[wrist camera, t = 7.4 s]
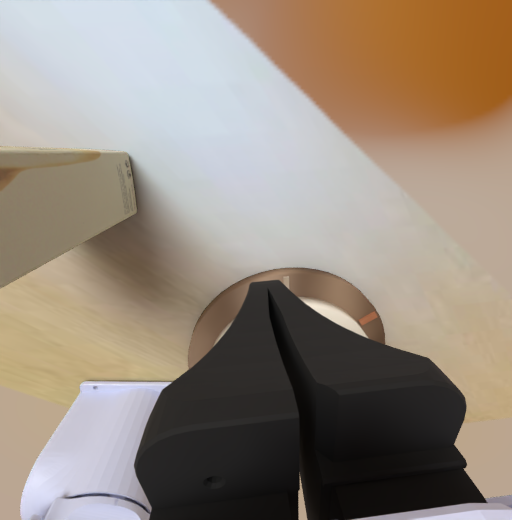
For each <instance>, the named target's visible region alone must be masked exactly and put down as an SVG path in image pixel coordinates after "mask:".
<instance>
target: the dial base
mask: <svg viewBox="0 0 512 520" xmlns="http://www.w3.org/2000/svg"><path fill="white" fill-rule="evenodd" d="M269 280H280V281H281V282H282V283H283V284H284V285H285V286H286V287H287V288H288V289H289V290H290V291H292V292H293V293H294V294H295V295H296V296H297V297H308V298H315V299H320V300H324V301H327V302H329V303H332V304H334V305H336V306H338V307H340V308H342V309H343V310H345V311H346V312H347V313H349V314H350V315H351V316H352V317H353V318H354V319H355V320H356V322H357V323H358V324H359V326H360V327H361V329H362V330H363V331H364V333H365V334H366V336H367V337H368V338H369V339H371V340H374V341H377V342H379V343H382V344H385V333H384V328H383V324H382V321H381V319H380V316H379V314H378V313H377V311H376V309H375V308H374V306H373V305H372V304H371V303H370V302H369V300H368V299H367V298H366V297H365V296H364V295H363V294H362V293H361V291H360V290H358V289H357V288H356V287H355V286H353V285H352V284H351V283H349V282H347V281H346V280H344V279H342V278H341V277H338V276H336V275H333V274H331V273H328V272H324V271H320V270H316V269H309V268H281V269H273V270H269V271H265V272H261V273H258V274H255V275H252V276H250V277H247V278H245V279H243V280H241V281H239V282H237V283H235V284H233V285H232V286H230V287H229V288H227V289H226V290H224V291H223V292H222V293H220V294H219V295H218V296H217V297H216V298H215V299H214V300H213V301H212V302H211V303H210V304H209V305H208V306H207V307H206V309H205V310H204V311H203V313H202V314H201V316H200V318H199V319H198V321H197V323H196V326H195V328H194V331H193V334H192V338H191V342H190V346H189V353H188V365H189V369H190V368H192V367H193V366H194V365H195V364H196V363H197V362H198V361H200V360H201V359H202V358H203V357H204V356H205V355H206V354H207V353H208V352H209V351H210V350H211V349H212V348H213V346H214V343H215V341H216V339H217V338H218V336H219V335H220V333H221V332H222V330H223V329H224V328H225V327H226V326H227V325H228V324H229V323H230V322H231V321H232V320H233V319H235V317H236V316H237V314H238V312H239V310H240V309H241V307H242V304H243V302H244V300H245V298H246V295H247V293H248V289H249V284H250V283H251V282H259V281H269Z"/></svg>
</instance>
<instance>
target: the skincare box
mask: <svg viewBox="0 0 512 520" xmlns="http://www.w3.org/2000/svg"><path fill="white" fill-rule="evenodd" d="M136 213H137V206H136V198H135V191H134V184H133V178H132V172H131V167H130V162H129V157H128V153H127V152H124V151H111V150H97V149H75V148H39V147H10V146H0V288H2V287H4V286H6V285H8V284H9V283H11V282H13V281H15V280H17V279H19V278H20V277H22V276H24V275H26V274H27V273H29V272H31V271H33V270H35V269H37V268H39V267H40V266H42V265H44V264H45V263H47V262H49V261H51V260H53V259H55V258H57V257H58V256H60V255H62V254H64V253H65V252H67V251H69V250H71V249H73V248H74V247H76V246H78V245H80V244H81V243H83V242H85V241H87V240H89V239H91V238H92V237H94V236H96V235H98V234H100V233H101V232H103V231H105V230H107V229H109V228H110V227H112V226H114V225H116V224H118V223H119V222H121V221H123V220H125V219H127V218H129V217H130V216H132V215H134V214H136Z"/></svg>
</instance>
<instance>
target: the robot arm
mask: <svg viewBox="0 0 512 520" xmlns="http://www.w3.org/2000/svg"><path fill="white" fill-rule="evenodd" d="M80 391H81V392H80V394H79V395H78V397H77V398H76V400H75V401H74V403H73V405H72V406H71V408H70V409H69V411H68V412H67V414H66V415H65V417H64V418H63V420H62V421H61V423H60V424H59V426H58V427H57V429H56V430H55V432H54V433H53V435H52V436H51V438H50V440H49V441H48V443H47V444H46V446H45V447H44V449H43V450H42V452H41V453H40V455H39V457H38V458H37V460H36V462H35V464H34V466H33V468H32V470H31V472H30V475H29V477H28V479H27V482H26V485H25V487H24V491H23V494H22V499H21V507H20V513H21V518H22V520H298V490H299V489H300V485H299V484H300V483H299V480H300V479H299V476H300V477H301V483H302V489H303V495H304V501H305V507H306V513H307V519H308V520H512V495H507V496H500V497H493V498H484V497H483V495H482V494H481V493H480V491H479V490H478V489H477V487H476V486H475V484H474V483H473V482H472V480H471V479H470V477H469V476H468V475H467V473H466V472H465V471H464V469H463V468H466V466H467V463H466V460H465V459H464V458H463V456H462V455H461V453H460V452H459V451H458V449H457V448H456V447H455V445H454V443H455V440H456V438H457V435H458V433H459V431H460V428H461V425H462V423H463V421H464V417H465V413H466V401H465V397H464V395H463V394H462V393H461V392H460V390H459V389H458V388H457V387H456V386H455V385H454V384H453V383H452V381H451V380H450V379H449V378H448V377H447V376H446V375H445V374H444V373H443V372H442V371H441V370H440V369H439V368H438V367H437V366H436V365H435V364H434V363H433V362H432V361H431V360H430V359H429V358H427V357H423V356H420V355H416V354H413V353H410V352H406V351H403V350H400V349H396V348H393V347H390V346H387V345H385V344H382V343H379V342H377V341H374V340H371V339H369V338H366V337H364V336H362V335H359V334H357V333H355V332H353V331H351V330H348V329H346V328H344V327H342V326H340V325H338V324H336V323H335V322H333V321H331V320H330V319H328V318H326V317H324V316H323V315H321V314H320V313H318V312H317V311H315V310H314V309H312V308H311V307H310V306H308V305H307V304H306V303H304V302H303V301H302V300H301V299H300V298H298V297H297V296H296V295H295V294H294V293H293V292H292V291H290V290H289V289H288V288H287V287H286V286H285V285H284V284H283V283H282V282H281V281H280V280H269V281H259V282H251V283H250V284H249V289H248V293H247V295H246V298H245V300H244V302H243V304H242V307H241V309H240V310H239V312H238V314H237V316H236V317H235V319H234V321H233V322H232V324H231V325H230V327H229V328H228V330H227V331H226V332H225V334H224V335H223V336H222V337H221V338H220V340H219V341H218V342H217V343H216V344H215V346H214V347H213V348H212V349H211V350H210V351H209V352H208V353H207V354H206V355H205V356H204V357H203V358H202V359H201V360H200V361H198V362H197V363H196V364H195V365H194V366H193V367H192V368H190V369H189V370H188V371H187V372H185V373H184V374H183V375H181V376H180V377H179V378H177V379H176V380H175V381H173V382H118V381H84V382H82V383H81V385H80ZM299 471H300V475H299Z"/></svg>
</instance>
